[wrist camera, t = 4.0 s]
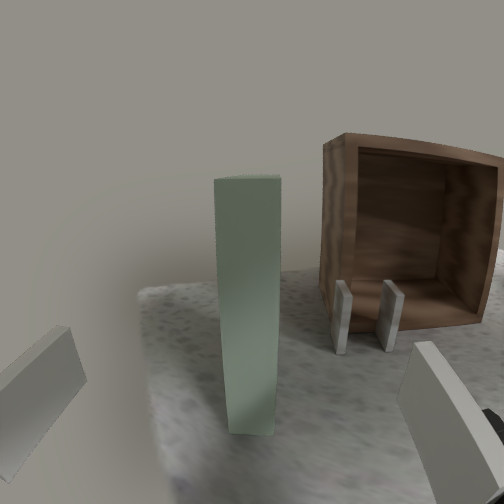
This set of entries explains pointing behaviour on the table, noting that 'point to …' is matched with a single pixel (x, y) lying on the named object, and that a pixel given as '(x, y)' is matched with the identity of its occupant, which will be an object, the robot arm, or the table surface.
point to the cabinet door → (249, 297)
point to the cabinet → (406, 235)
